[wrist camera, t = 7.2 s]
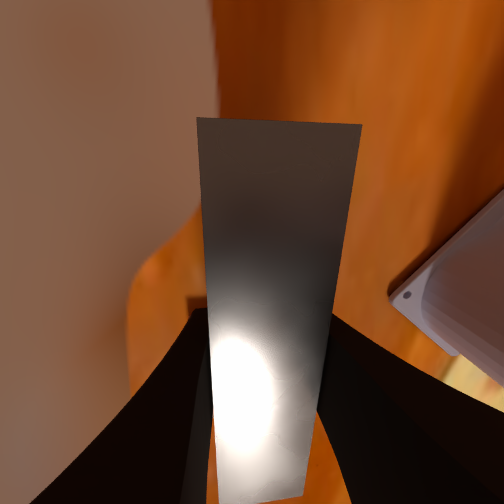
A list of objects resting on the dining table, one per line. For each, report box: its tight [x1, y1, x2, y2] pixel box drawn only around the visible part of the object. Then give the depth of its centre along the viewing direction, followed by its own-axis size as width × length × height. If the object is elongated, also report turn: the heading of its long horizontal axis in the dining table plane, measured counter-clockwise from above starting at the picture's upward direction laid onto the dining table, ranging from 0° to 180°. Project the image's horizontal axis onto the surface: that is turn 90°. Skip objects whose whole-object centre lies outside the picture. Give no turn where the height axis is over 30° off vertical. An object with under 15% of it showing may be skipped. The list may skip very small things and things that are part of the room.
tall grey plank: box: [197, 117, 362, 504], centre depth 9 cm, size 12×3×5 cm, turn 179°
